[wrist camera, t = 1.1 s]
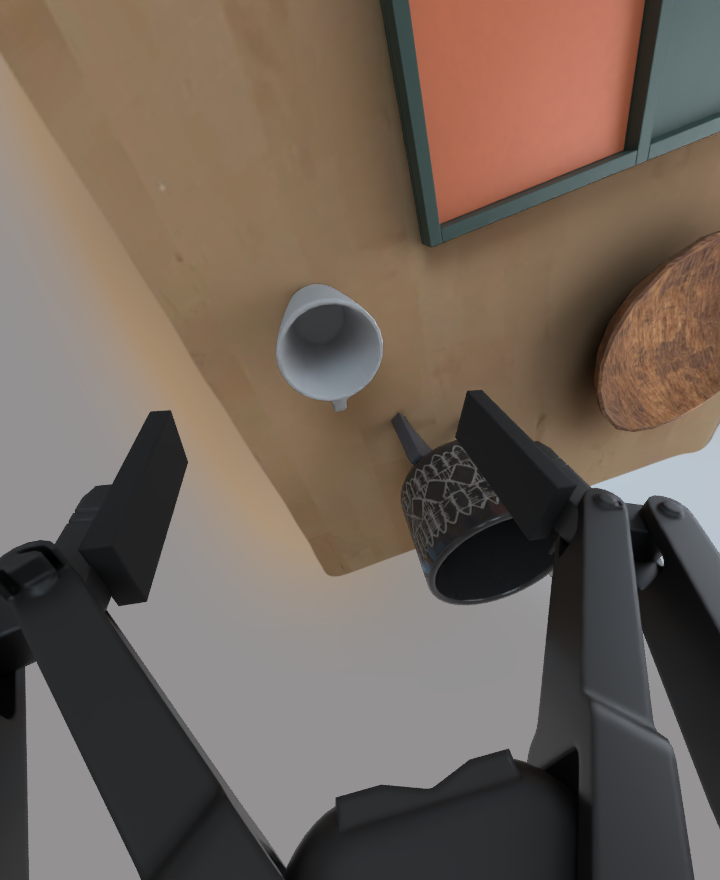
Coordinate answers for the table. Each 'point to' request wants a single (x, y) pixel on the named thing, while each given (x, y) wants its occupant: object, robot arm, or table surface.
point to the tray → (543, 97)
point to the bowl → (664, 342)
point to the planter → (465, 527)
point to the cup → (328, 345)
